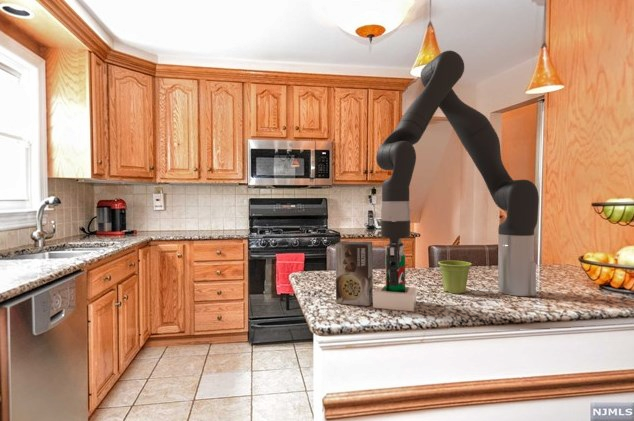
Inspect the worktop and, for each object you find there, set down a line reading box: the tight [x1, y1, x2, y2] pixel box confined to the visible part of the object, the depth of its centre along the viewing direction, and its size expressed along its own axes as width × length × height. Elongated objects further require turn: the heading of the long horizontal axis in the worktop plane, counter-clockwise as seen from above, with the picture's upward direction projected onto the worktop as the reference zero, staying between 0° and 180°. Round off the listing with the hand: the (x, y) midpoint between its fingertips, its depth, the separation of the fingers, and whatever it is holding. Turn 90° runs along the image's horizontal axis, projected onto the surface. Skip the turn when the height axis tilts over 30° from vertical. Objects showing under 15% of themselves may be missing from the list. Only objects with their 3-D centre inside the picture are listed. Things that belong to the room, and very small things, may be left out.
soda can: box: [385, 250, 406, 293], centre depth 95 cm, size 5×5×12 cm
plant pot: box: [437, 260, 472, 295], centre depth 109 cm, size 9×9×9 cm
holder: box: [372, 283, 418, 312], centre depth 95 cm, size 10×10×4 cm
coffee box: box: [334, 240, 374, 307], centre depth 97 cm, size 9×6×16 cm
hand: (395, 283), depth 95 cm, fingers closed on soda can, 5 cm apart
